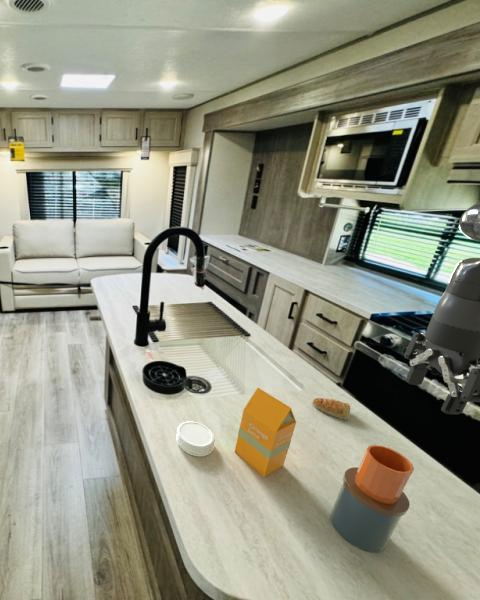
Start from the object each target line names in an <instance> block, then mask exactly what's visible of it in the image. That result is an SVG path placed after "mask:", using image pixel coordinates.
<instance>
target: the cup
mask: <svg viewBox="0 0 480 600" xmlns="http://www.w3.org/2000/svg"><path fill="white" fill-rule="evenodd" d="M414 471H415V468H414V465H413V463H412V462H411V461H410V460H409V458H407V457H406V456H404V455H403V454H402V453H400V452H399V451H397V450H394V449H393V448H390V447H388V446H384V445H381V444H371V445H369V446H368V447H366V449H365V452H364V454H363V456H362V459H361V461H360V464H359V466H358V471H357V473H356V475H355V483H356V485H357V486H358V487H359V489H360V490H361V491H362V492H364V493H365V494H366V495H368V496H369V497H371V498H372V499H374V500H376V501H379V502H381V503H385V504H394V503H396V502H397V501H398V499H399V498H400V496H401V494H402V492H404V490H405V488H406V486H407V484H408V482H409V480H410V478H411V476H412V474H413V473H414Z"/></svg>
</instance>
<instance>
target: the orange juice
mask: <svg viewBox="0 0 480 600" xmlns="http://www.w3.org/2000/svg"><path fill="white" fill-rule="evenodd" d="M241 415H242V416H241V420H240V425H239V428H238V432H237V439H236V444H235V448H234V453H236V454H237V455H238V456H239V457H240V459H242V460H244V462H246V463H247V464H248V465H249V466H251V467H252V468H253V469H254V470H255V471H256V472H257V473H258V474H260V475H261V476H262V477H263V478H265V477H267V476H268V475H270V474H272V473H273V472H276V471H277V470H278V469H280V468H283V467H284V464H285V462H286V458H287V455H288V451H289V449H290V446H291V442H292V438H293V435H294V432H295V429H296V424H297V421H296V418H295V416H294V412H293V410H292V407H291V406H289V405H287V404H286V403H284V402H282V401H281V400H279V399H277V398H276V397H275V396H272V395H271V394H269V393H268V392H266V391H265V390H263V389H261V388H260V387H257V388H256V390H255V391H254V393H253V394H252V395H251V397H250V399H249V401H248V402H247V404H246V405H245V406H244V408H243V410H242V414H241Z"/></svg>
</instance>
